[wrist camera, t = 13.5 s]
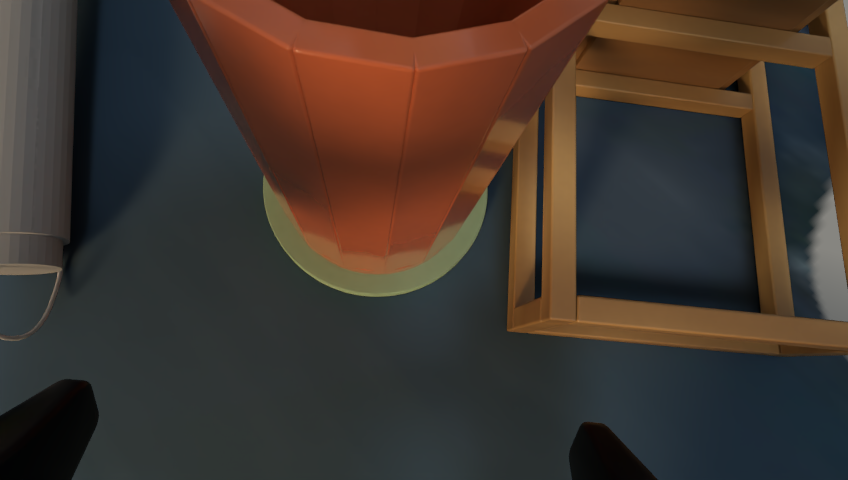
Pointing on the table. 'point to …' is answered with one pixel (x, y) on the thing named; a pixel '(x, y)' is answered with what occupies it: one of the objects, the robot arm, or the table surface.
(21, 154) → the kitchen whisk
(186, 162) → the table surface
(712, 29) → the dish rack
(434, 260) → the coaster
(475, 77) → the tumbler
